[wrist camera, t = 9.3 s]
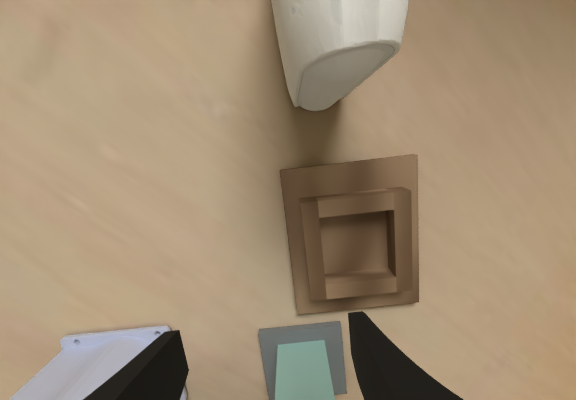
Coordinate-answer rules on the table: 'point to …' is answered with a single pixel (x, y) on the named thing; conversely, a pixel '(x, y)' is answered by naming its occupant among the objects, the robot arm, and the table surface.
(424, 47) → the table surface
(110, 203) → the table surface
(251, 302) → the table surface
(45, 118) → the table surface
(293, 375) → the block
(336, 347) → the pad
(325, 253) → the pocket board
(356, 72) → the photo printer
